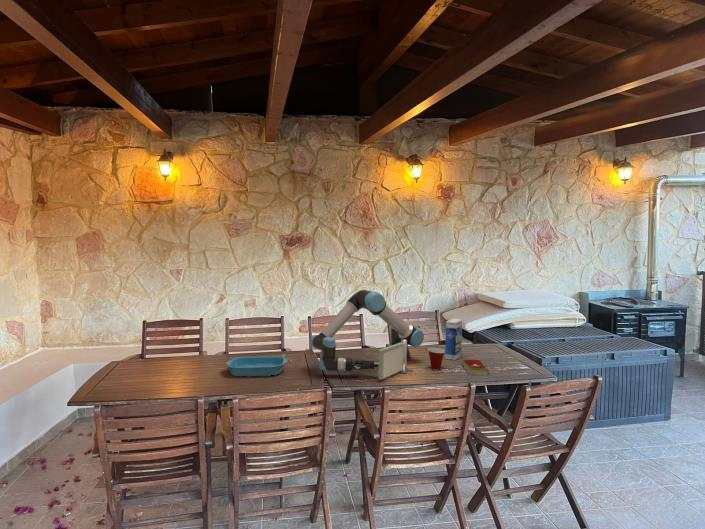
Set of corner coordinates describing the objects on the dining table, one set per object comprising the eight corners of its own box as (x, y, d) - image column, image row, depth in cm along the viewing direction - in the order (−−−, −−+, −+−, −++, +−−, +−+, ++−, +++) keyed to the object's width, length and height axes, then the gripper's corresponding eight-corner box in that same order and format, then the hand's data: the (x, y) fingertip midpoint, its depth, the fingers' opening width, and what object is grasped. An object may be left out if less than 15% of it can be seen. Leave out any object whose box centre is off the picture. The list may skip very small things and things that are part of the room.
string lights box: (455, 360, 314) (456, 322, 312) (444, 358, 318) (445, 321, 316) (461, 356, 325) (462, 319, 323) (451, 354, 329) (451, 318, 327)
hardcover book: (479, 365, 305) (479, 358, 305) (488, 375, 284) (488, 368, 284) (460, 365, 305) (461, 358, 305) (468, 375, 284) (468, 368, 284)
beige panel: (399, 369, 288) (400, 342, 287) (402, 370, 287) (403, 343, 286) (378, 378, 270) (378, 350, 269) (381, 379, 269) (381, 350, 268)
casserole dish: (222, 378, 274) (222, 366, 274) (230, 367, 296) (229, 356, 296) (285, 377, 276) (285, 366, 276) (288, 366, 299) (288, 355, 298)
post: (394, 371, 290) (394, 339, 288) (402, 368, 295) (403, 337, 294) (404, 374, 284) (404, 342, 283) (412, 371, 290) (413, 340, 288)
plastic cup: (444, 371, 290) (445, 352, 289) (427, 370, 292) (427, 351, 291) (445, 366, 301) (445, 347, 300) (427, 365, 303) (428, 346, 302)
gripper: (346, 367, 285) (385, 368, 283) (344, 374, 272) (385, 375, 270) (346, 355, 284) (385, 356, 283) (344, 361, 271) (385, 362, 270)
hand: (385, 365), depth 277 cm, fingers closed
